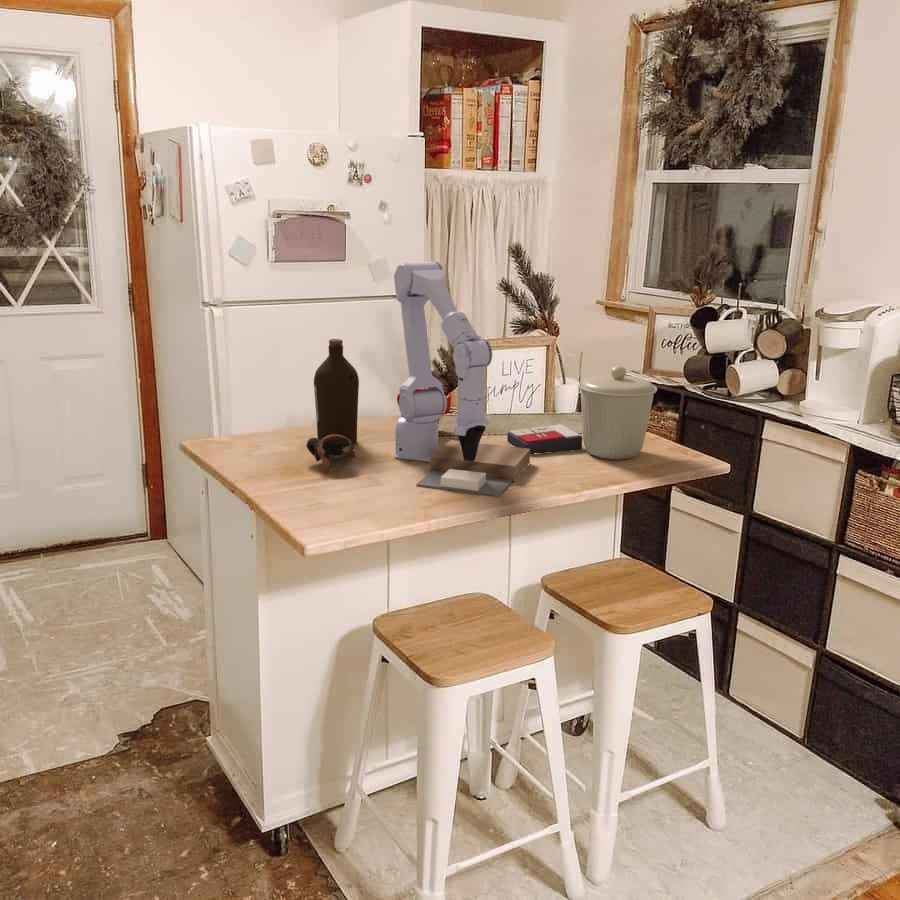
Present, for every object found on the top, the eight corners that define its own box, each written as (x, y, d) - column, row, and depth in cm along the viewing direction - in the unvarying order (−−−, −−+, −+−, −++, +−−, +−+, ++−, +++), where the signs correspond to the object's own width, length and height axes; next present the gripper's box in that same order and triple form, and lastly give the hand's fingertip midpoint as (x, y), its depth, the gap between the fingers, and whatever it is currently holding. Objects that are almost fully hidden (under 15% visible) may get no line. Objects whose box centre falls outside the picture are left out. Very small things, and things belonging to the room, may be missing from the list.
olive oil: (363, 437, 221) (363, 337, 214) (353, 450, 211) (352, 344, 204) (321, 435, 222) (319, 335, 215) (309, 447, 212) (307, 342, 205)
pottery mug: (362, 463, 203) (363, 438, 197) (343, 491, 197) (344, 466, 191) (314, 445, 205) (314, 420, 199) (294, 473, 199) (294, 447, 193)
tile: (449, 468, 191) (449, 477, 191) (440, 477, 185) (440, 486, 186) (486, 473, 188) (485, 482, 189) (477, 481, 183) (477, 490, 183)
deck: (430, 471, 196) (430, 456, 195) (450, 454, 209) (450, 439, 208) (514, 482, 191) (515, 466, 190) (529, 463, 203) (530, 448, 202)
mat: (416, 485, 187) (416, 484, 187) (431, 472, 196) (431, 470, 196) (499, 496, 182) (499, 494, 181) (511, 482, 191) (511, 480, 190)
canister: (558, 451, 214) (562, 363, 208) (609, 439, 224) (615, 356, 218) (615, 470, 200) (622, 377, 194) (667, 456, 211) (675, 368, 205)
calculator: (506, 429, 219) (561, 421, 224) (506, 446, 220) (561, 438, 225) (526, 441, 209) (583, 433, 214) (526, 459, 210) (582, 450, 215)
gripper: (479, 407, 179) (477, 471, 183) (499, 392, 192) (496, 452, 196) (446, 403, 181) (445, 467, 185) (467, 389, 194) (465, 449, 198)
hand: (469, 459), depth 190 cm, fingers closed
